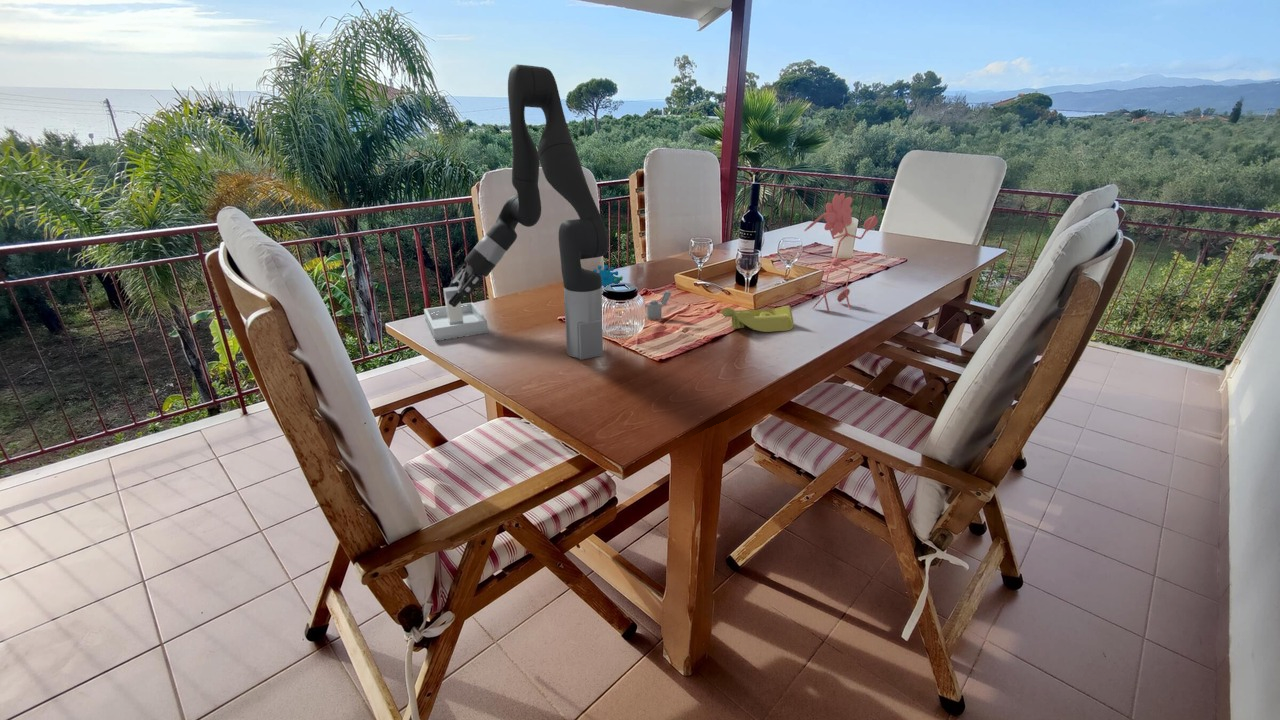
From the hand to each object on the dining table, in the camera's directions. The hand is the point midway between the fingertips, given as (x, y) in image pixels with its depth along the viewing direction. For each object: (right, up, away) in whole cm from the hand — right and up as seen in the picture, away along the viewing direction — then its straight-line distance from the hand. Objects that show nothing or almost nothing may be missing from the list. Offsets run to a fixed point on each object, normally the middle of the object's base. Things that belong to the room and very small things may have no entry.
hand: (448, 300), depth 151 cm
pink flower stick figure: (+113, +1, +26) cm, 116 cm away
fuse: (+1, -6, +3) cm, 7 cm away
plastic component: (+86, -7, +7) cm, 87 cm away
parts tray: (+1, -7, +4) cm, 8 cm away
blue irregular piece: (+42, +9, +40) cm, 59 cm away
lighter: (+59, -4, +13) cm, 60 cm away
